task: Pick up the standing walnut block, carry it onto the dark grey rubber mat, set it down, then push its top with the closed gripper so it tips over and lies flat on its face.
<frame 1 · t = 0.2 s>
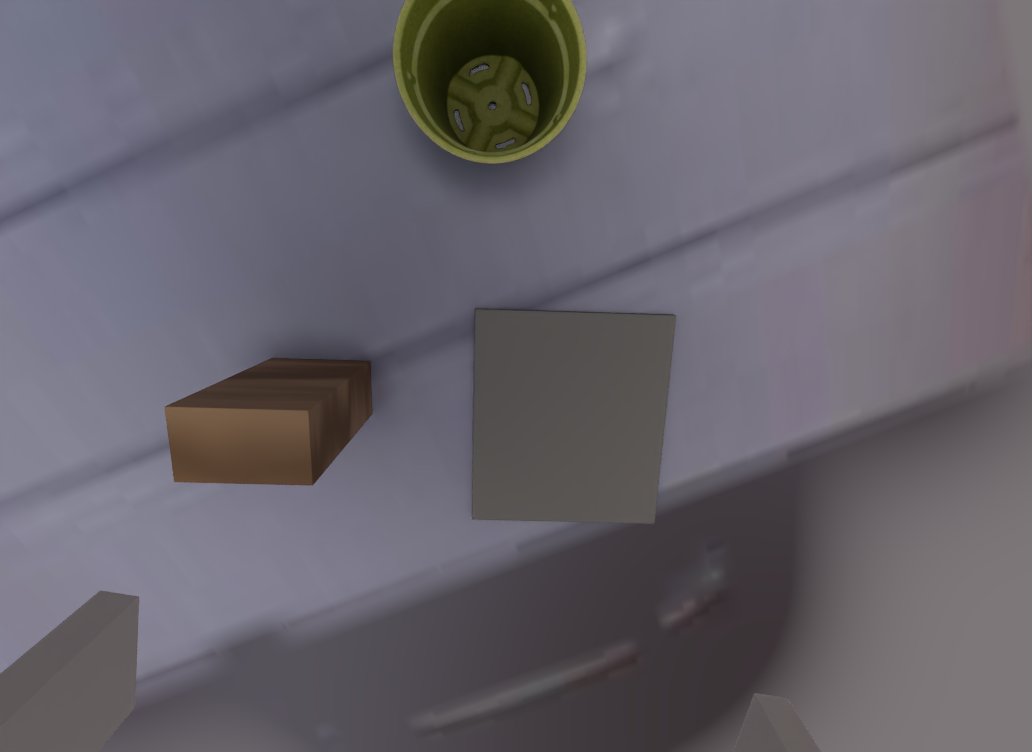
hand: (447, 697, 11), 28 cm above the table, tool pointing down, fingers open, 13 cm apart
walnut block: (322, 386, 38), on the table
plant pot: (494, 108, 34), on the table
rubber mat: (568, 419, 39), on the table
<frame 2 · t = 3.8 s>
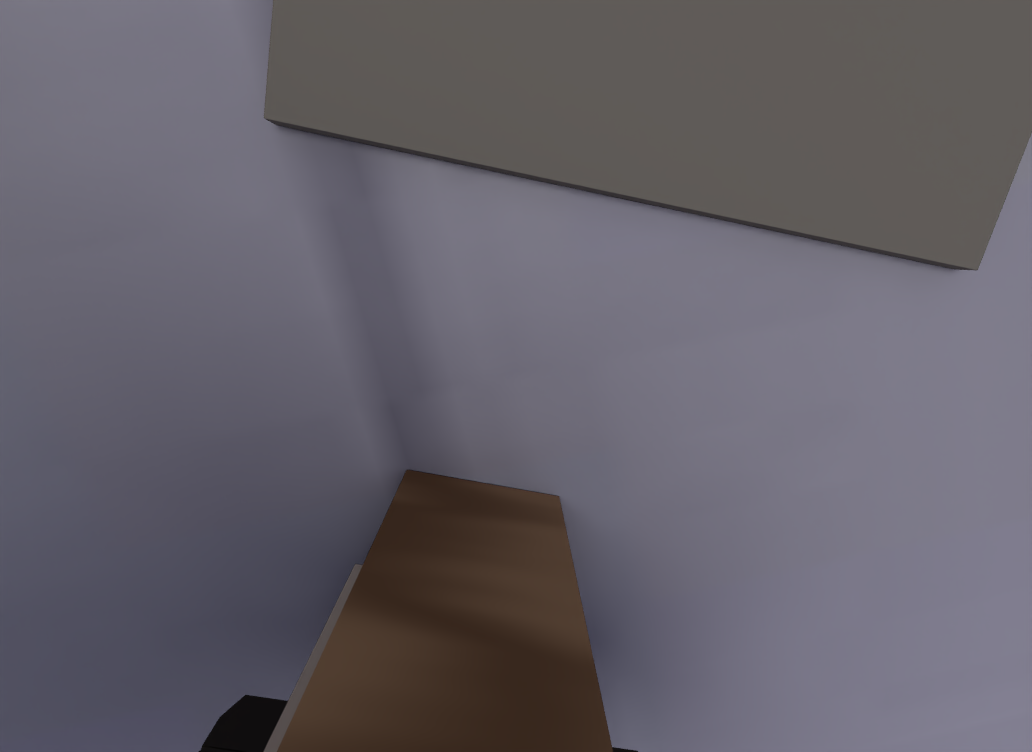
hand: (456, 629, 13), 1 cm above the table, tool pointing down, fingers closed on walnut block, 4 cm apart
walnut block: (460, 599, 14), on the table, touching gripper
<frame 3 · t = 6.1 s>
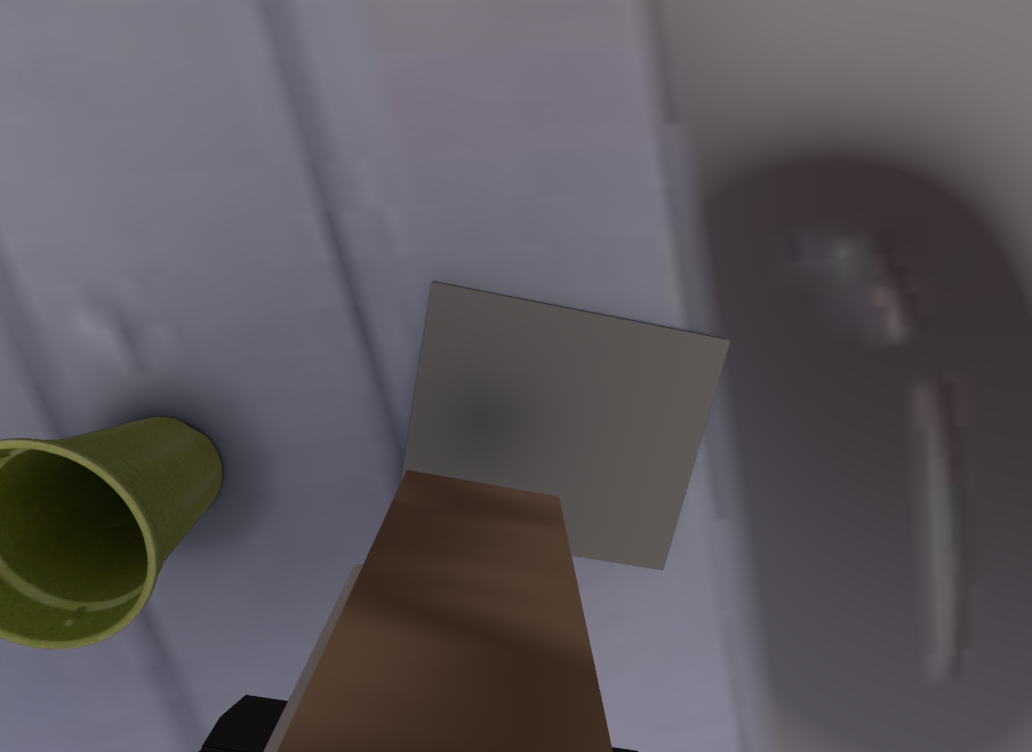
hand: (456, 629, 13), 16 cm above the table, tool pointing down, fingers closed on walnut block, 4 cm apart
walnut block: (460, 599, 14), point 15 cm above the table, touching gripper
plant pot: (172, 464, 30), on the table
rubber mat: (554, 432, 29), on the table
when the fingers open (2 cm above the table, at t = 8.9 s): walnut block stays where it is, resting on rubber mat.
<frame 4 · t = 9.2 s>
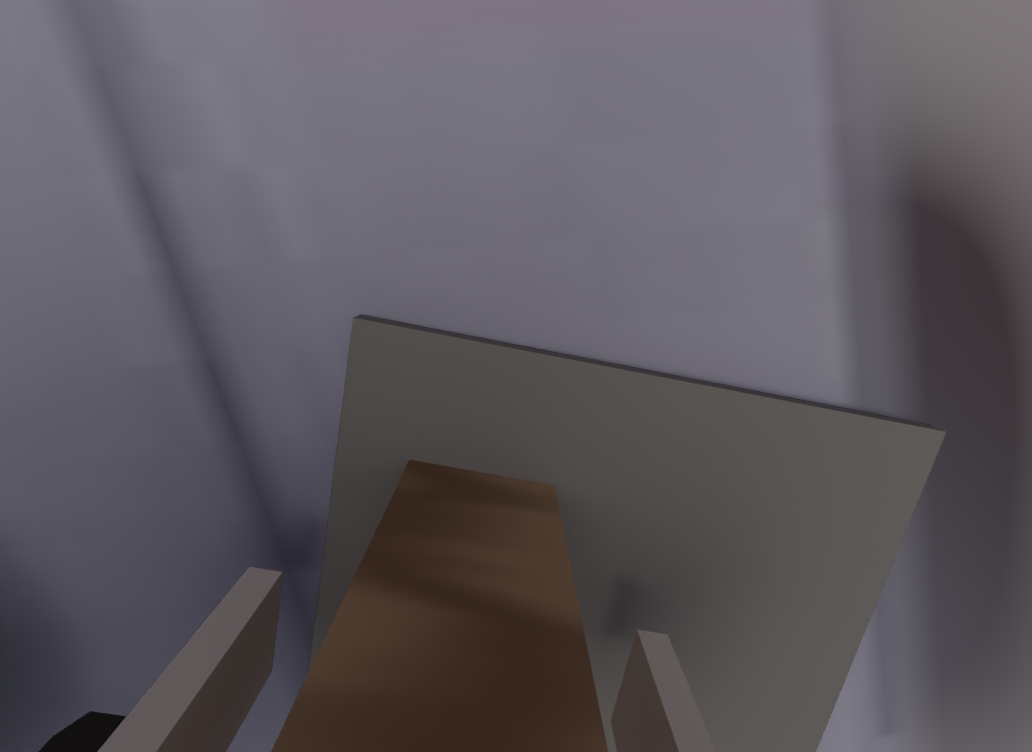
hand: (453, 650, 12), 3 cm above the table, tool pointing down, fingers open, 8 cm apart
walnut block: (460, 584, 15), point 1 cm above the table, touching rubber mat
rubber mat: (595, 593, 16), on the table
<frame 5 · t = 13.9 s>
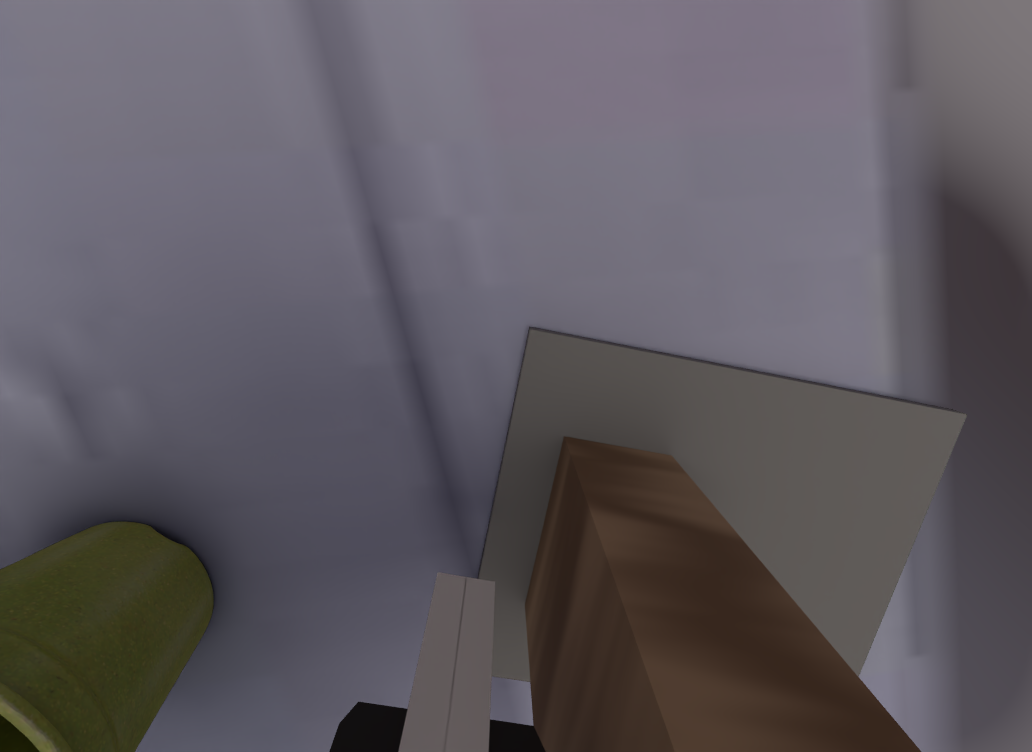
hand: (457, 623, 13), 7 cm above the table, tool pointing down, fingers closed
walnut block: (595, 532, 19), point 1 cm above the table, touching gripper, rubber mat
plant pot: (140, 584, 21), on the table
rubber mat: (694, 541, 20), on the table
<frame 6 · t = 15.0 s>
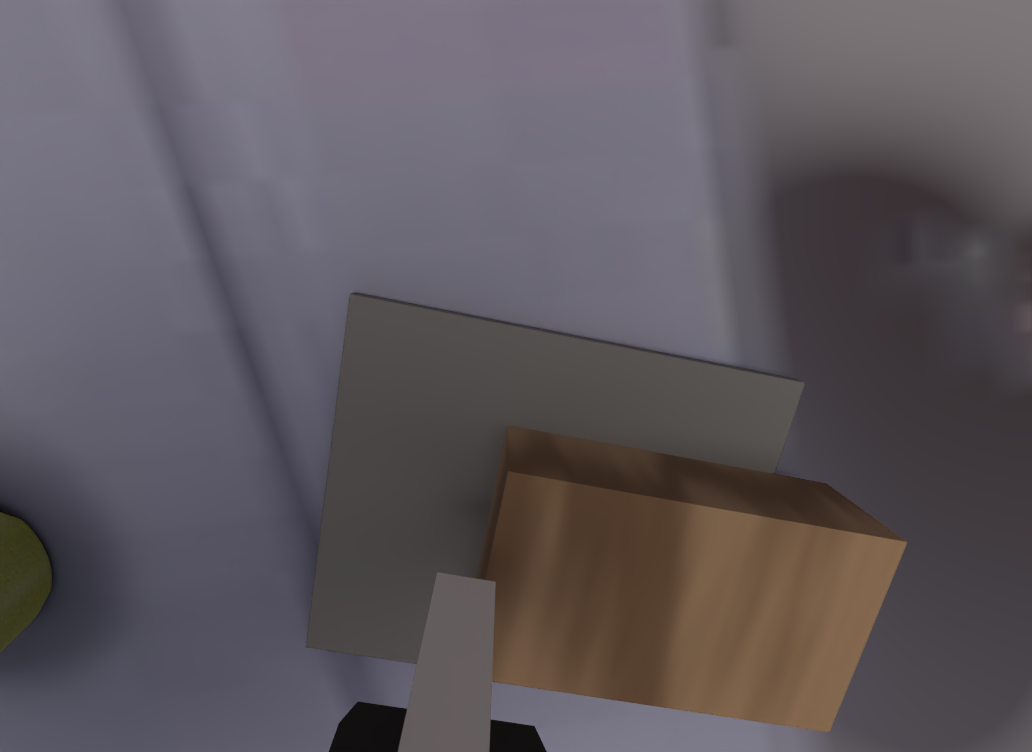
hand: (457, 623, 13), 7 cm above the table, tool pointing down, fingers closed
walnut block: (487, 542, 17), point 3 cm above the table, tilted 90°, touching rubber mat
rubber mat: (540, 514, 20), on the table
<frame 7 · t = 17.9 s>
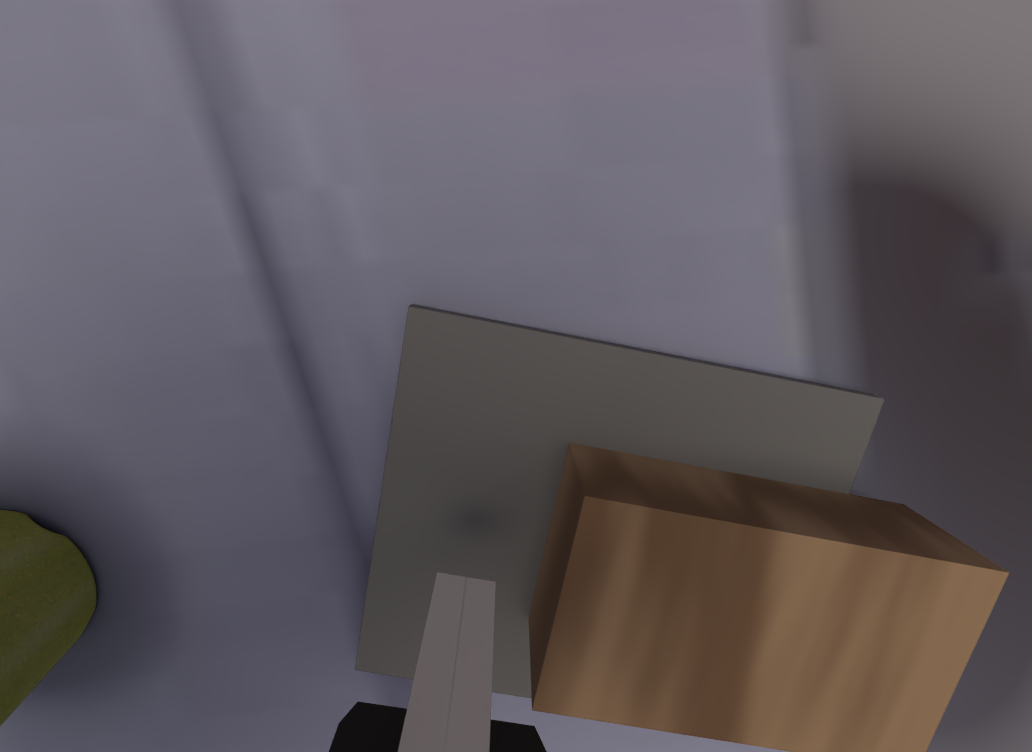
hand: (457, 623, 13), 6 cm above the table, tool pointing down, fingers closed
walnut block: (551, 566, 17), point 3 cm above the table, tilted 90°, touching rubber mat
plant pot: (22, 575, 20), on the table
rubber mat: (599, 534, 19), on the table
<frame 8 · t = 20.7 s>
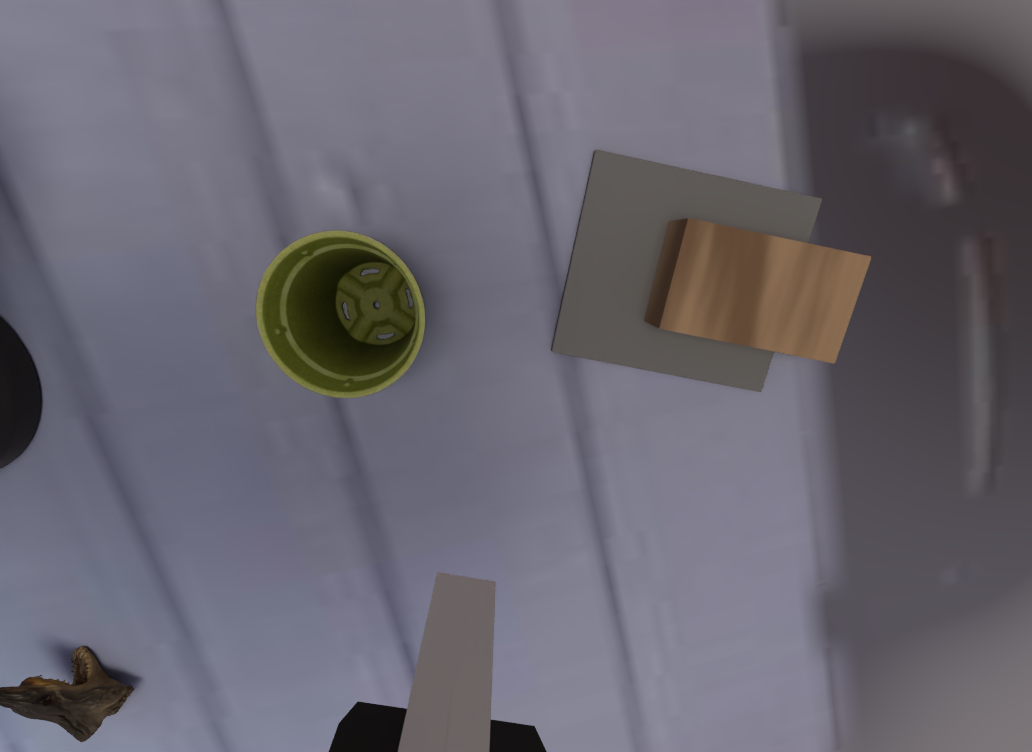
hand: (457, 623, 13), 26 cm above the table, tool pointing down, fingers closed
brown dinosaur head: (95, 663, 45), on the table
walnut block: (664, 273, 35), point 3 cm above the table, tilted 90°, touching rubber mat
plant pot: (378, 302, 38), on the table
rubber mat: (680, 277, 38), on the table
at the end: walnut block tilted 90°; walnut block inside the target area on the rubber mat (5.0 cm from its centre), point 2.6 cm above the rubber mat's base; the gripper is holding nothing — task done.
